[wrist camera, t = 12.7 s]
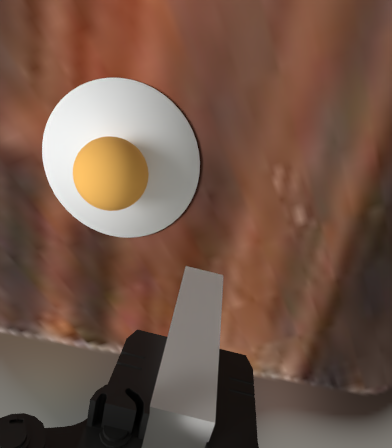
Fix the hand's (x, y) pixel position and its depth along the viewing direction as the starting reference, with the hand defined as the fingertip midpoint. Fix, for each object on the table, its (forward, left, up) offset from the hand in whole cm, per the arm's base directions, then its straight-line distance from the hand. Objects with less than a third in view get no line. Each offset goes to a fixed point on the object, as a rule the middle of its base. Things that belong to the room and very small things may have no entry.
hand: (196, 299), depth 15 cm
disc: (0, -8, -16) cm, 18 cm away
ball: (0, -8, -14) cm, 16 cm away
